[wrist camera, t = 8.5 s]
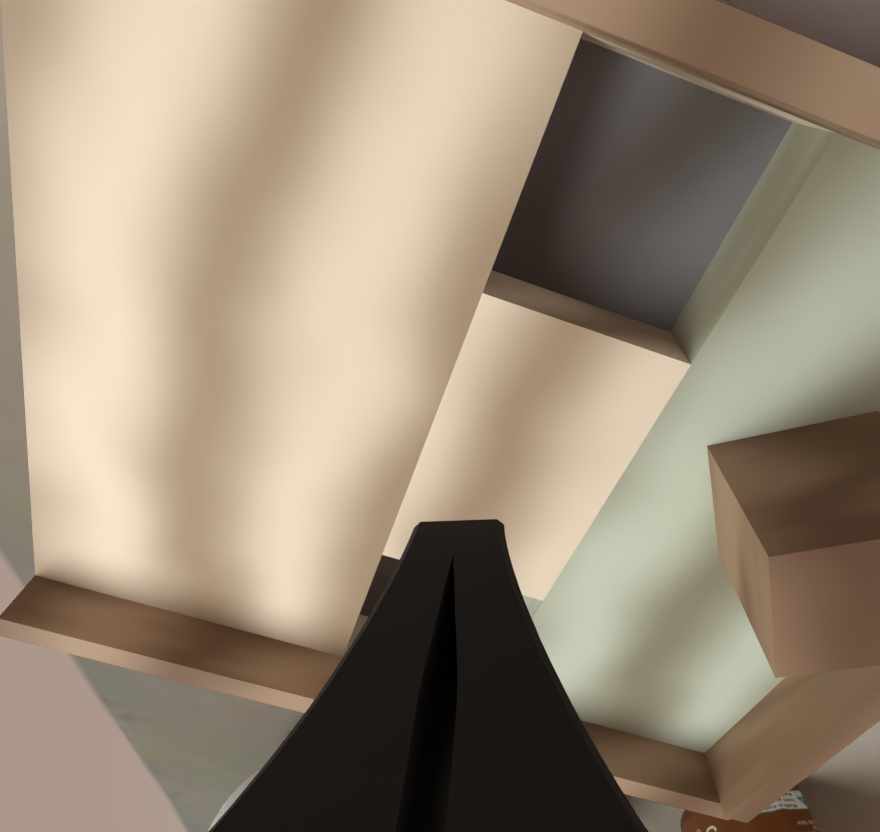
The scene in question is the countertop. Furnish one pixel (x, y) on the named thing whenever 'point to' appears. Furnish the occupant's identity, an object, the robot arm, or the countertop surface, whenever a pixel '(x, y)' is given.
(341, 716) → the robot arm
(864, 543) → the walnut block
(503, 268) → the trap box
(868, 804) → the countertop surface
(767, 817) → the food container
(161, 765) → the countertop surface
